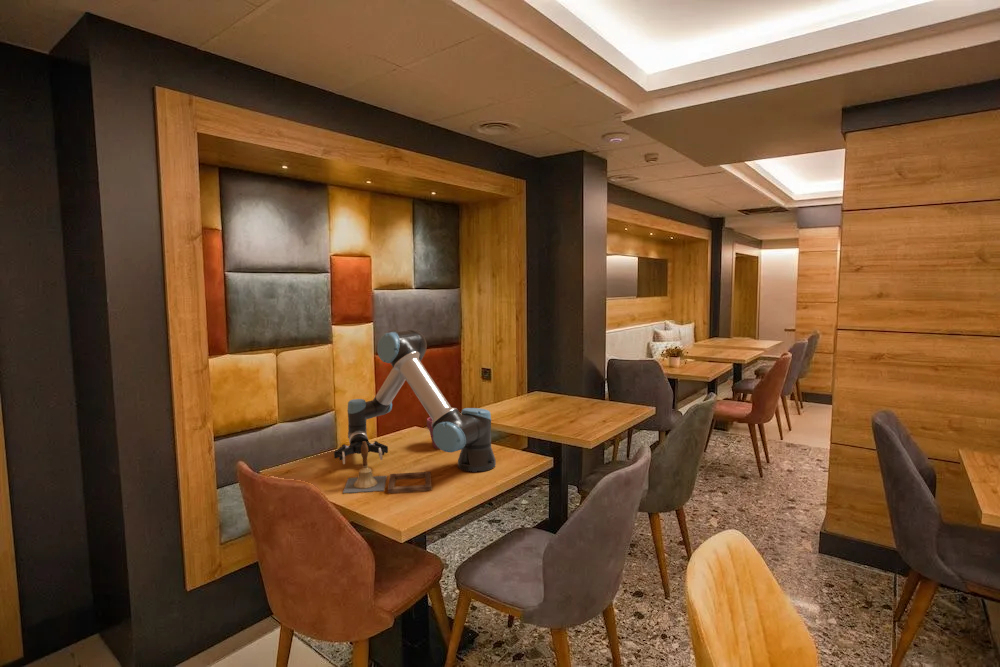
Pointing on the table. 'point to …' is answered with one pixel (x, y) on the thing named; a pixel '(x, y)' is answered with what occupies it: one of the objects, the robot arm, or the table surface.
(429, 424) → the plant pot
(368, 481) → the hand bell
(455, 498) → the table surface
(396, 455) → the table surface
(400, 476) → the square frame
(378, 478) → the rubber mat
